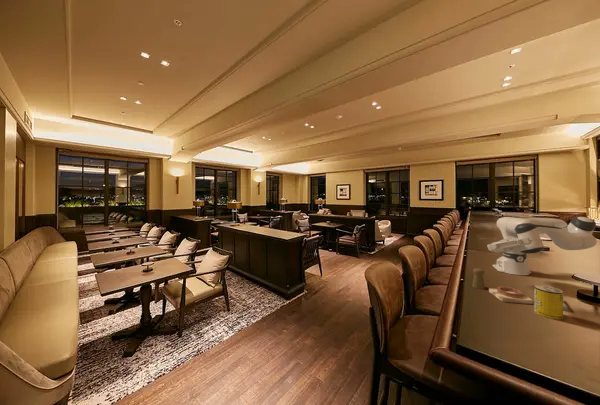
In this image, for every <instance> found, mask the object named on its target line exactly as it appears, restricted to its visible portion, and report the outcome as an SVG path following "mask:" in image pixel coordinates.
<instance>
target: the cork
mask: <svg viewBox="0 0 600 405" xmlns="http://www.w3.org/2000/svg"><path fill="white" fill-rule="evenodd" d="M472 272H473V278H472V279H473V280H472V285H471V286H472V287H473V288H475V289H479V290H484V289H486V287H485V286H486V285H485V281H484V280H485V279H484V275H485V271H484V270H483V268H477V267H476V268H474V269H472Z"/></svg>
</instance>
